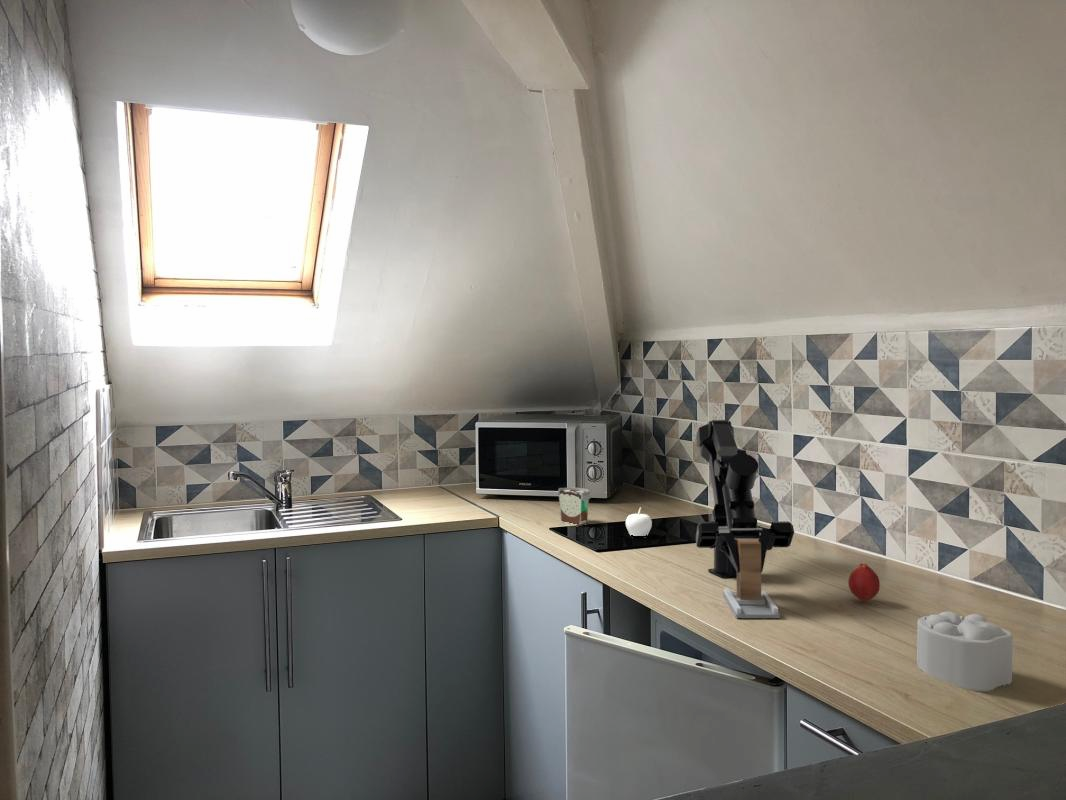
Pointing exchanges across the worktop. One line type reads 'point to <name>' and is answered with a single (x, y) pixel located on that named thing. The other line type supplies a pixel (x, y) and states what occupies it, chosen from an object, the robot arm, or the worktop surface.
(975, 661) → the lumpy-topped squat cylinder
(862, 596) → the onion
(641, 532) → the plain white apple
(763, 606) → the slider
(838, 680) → the worktop surface
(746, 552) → the brown rectangular block
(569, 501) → the food container
